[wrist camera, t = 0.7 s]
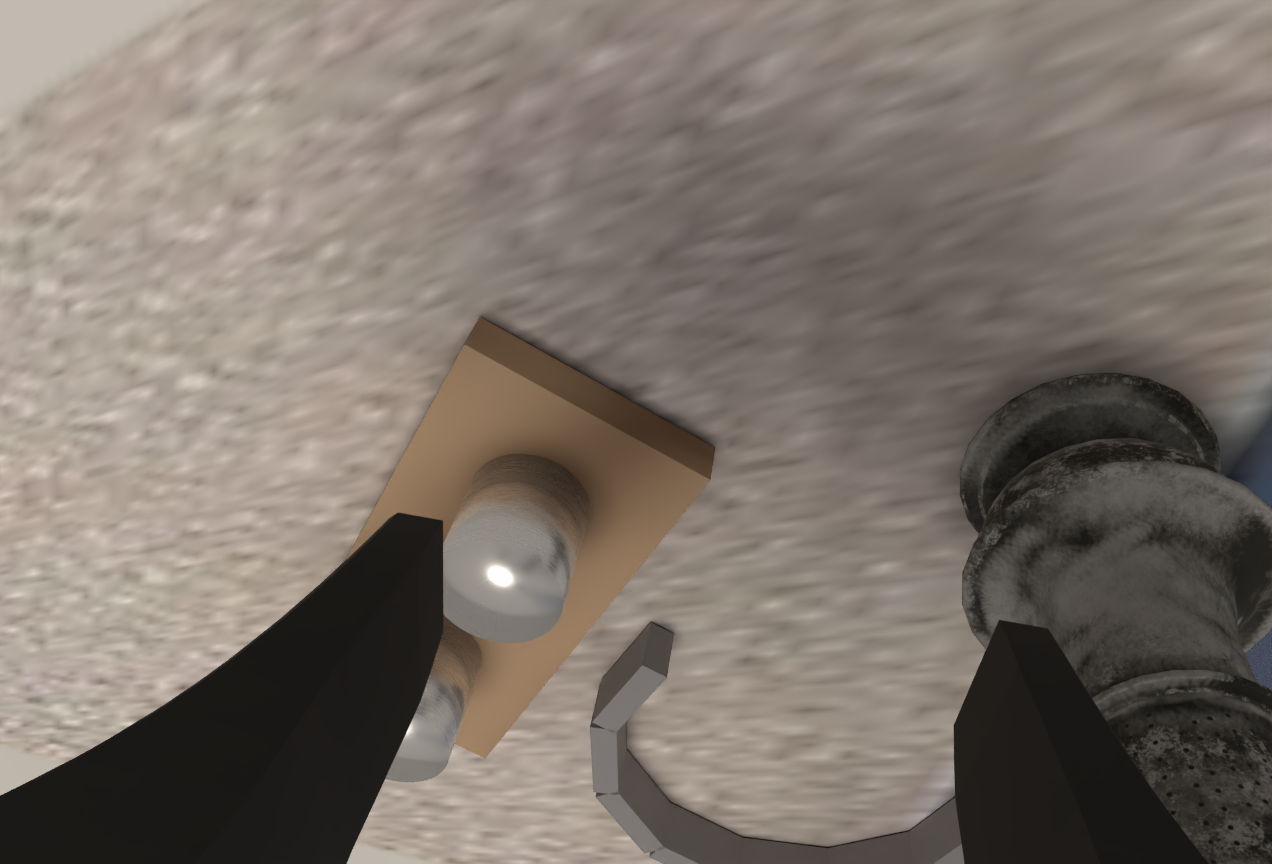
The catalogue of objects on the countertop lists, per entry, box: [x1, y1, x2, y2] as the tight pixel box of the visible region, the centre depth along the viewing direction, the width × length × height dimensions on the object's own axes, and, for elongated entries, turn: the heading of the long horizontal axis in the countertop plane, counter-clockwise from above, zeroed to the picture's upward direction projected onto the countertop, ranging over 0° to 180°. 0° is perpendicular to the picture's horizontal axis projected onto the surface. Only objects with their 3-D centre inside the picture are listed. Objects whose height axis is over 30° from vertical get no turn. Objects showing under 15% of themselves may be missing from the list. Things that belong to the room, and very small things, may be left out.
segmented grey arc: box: [590, 622, 965, 864], centre depth 30 cm, size 11×7×2 cm, turn 60°
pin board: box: [346, 317, 715, 782], centre depth 25 cm, size 6×12×4 cm, turn 150°
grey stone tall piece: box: [960, 373, 1272, 864], centre depth 18 cm, size 6×6×12 cm
